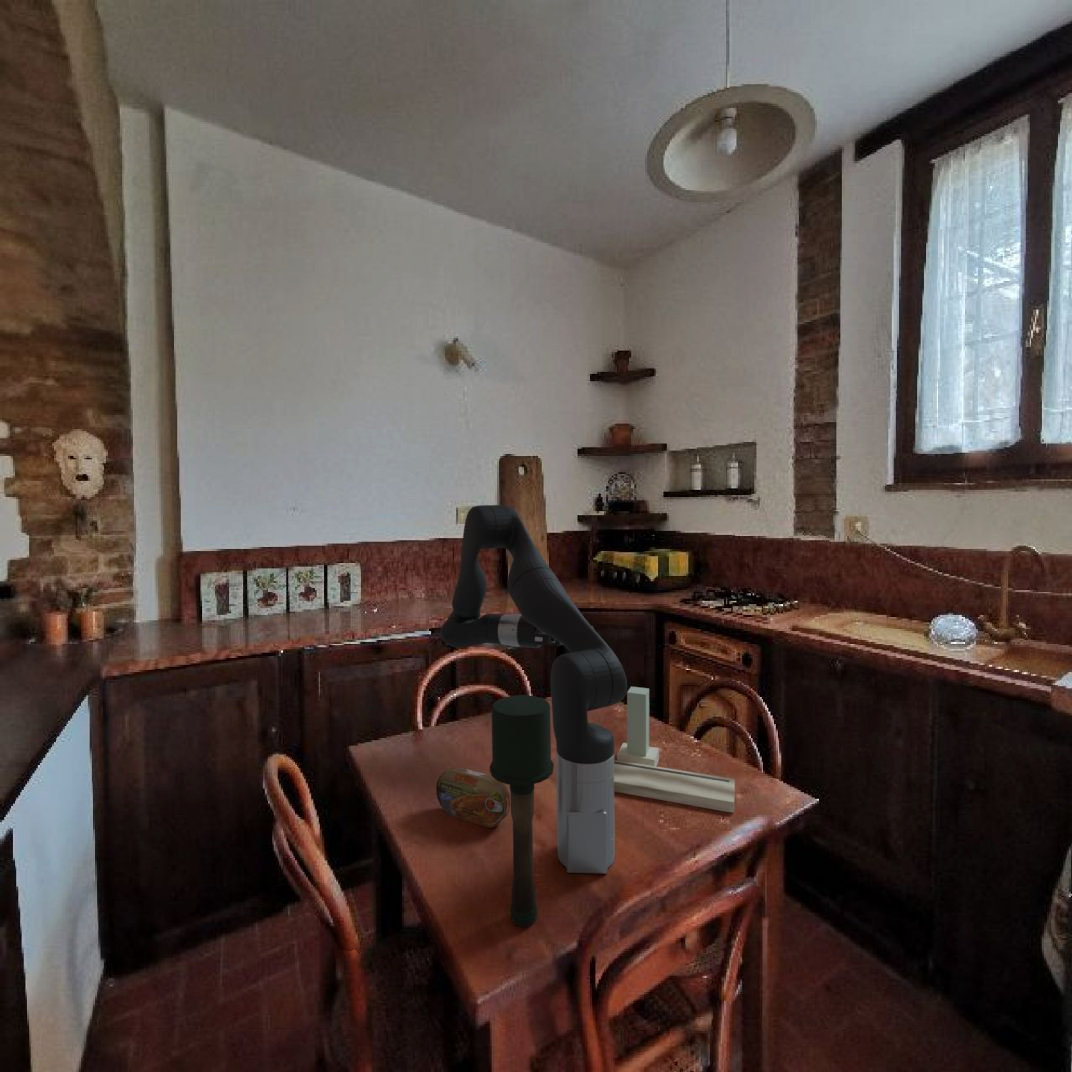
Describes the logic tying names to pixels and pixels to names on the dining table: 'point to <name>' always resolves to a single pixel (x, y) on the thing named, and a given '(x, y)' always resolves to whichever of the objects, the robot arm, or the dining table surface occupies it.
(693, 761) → the dining table surface
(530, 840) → the stick grenade
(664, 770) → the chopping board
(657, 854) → the dining table surface
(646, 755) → the grey pillar on base
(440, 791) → the tin
